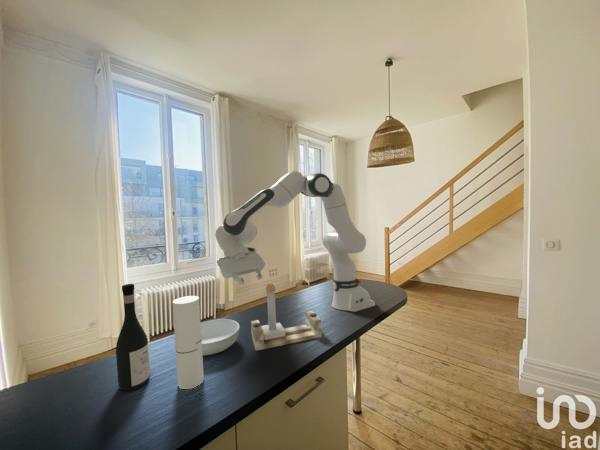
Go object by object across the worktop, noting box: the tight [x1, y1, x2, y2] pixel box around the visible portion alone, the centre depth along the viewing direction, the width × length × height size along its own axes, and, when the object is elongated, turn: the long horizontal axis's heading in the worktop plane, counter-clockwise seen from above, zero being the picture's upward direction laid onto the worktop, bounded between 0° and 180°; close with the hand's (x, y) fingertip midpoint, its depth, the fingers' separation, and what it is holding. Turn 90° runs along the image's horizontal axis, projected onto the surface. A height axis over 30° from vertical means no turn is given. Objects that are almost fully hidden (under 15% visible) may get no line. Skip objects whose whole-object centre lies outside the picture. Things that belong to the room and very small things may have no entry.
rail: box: [250, 310, 323, 352], centre depth 102 cm, size 26×10×7 cm, turn 109°
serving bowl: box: [200, 318, 240, 356], centre depth 97 cm, size 21×21×7 cm
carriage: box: [261, 283, 285, 340], centre depth 100 cm, size 8×8×20 cm
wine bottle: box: [115, 283, 151, 391], centre depth 77 cm, size 8×8×30 cm
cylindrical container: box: [172, 295, 205, 390], centre depth 77 cm, size 7×7×25 cm
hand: (251, 280), depth 107 cm, fingers open, 8 cm apart
